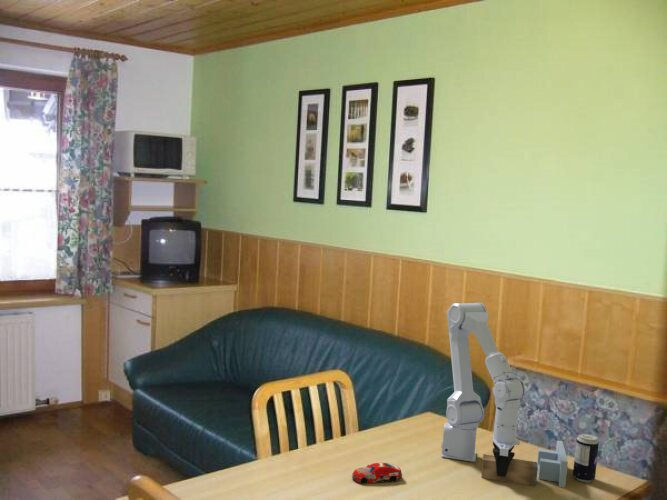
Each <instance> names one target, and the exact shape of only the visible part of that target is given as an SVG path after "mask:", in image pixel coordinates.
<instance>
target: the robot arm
mask: <svg viewBox="0 0 667 500" xmlns="http://www.w3.org/2000/svg"><path fill="white" fill-rule="evenodd" d="M446 313H447V314H446V317H447V324H448V325H447V326H448V336H449V338H448V339H449V345H450V346H449V347H450V357H451V370H452V379H453V390H454V392H453V393H452V394H451V395H449V397H448V398H447V399H446V403H447V405H446V406H447V407H446V413H445V416H446V419H447V421H448V422H444V425H443V434H442V442H441V446H440V448H441V454H440V455H441V457H442V458H447V459H454V460H460V461H467V462H473V463H475V462H476V458H477V457H476V456H477V451H476V442H477V430H478V429H477V428H478V427H479V426H480V423H482V421H483V420H484V418H485V409H484V407H483V403H482V398H481V396H480V395H478V393H476V392H475V391H474V383H473V375H472V374H473V372H472V364H471V352H470V341H469V336H470V334H471V333H473V334H474V336H475V338H476V340H477V341H478V344H479V346H480V347H481V349H482V351H483V352H484V354H485V360H484V364H485V366H486V368H487V371H488V373H489V375H490V377H491V380H492V381H493V384H494V386H493V387H492V394H493V396H494V404H495V414H494V415H495V417H494V427H493V428H494V429H493V436H492V445H493V448H492V455H493V456H494V457H495V460H496V470H497V476H502V477H505V476H506V474H507V470H508V467H509V464H510V462H511V460H512V459H514V457H515V452H512V451H513V449H514V448H515V445H516V446H519V445H521V443H520V442H521V441H520V440H519V439H517V426H518V418H519V415H518V414H519V407H520V406H519V405H520V400H521V399H523V398H524V397H525V393H526V388H525V384H524V381H523V380H522V379H521V378H520V377H518V376H517V375H516V374H514V373H513V370H512V368H511V365H510V364H509V362H508V359H507V357H506V356H505V354H504V353H502V352H500V351H499V350H498V348H497V344H496V341H495V339H494V337H493V333H492V332H491V328H490V326H489V323H488V322H489V319H490V315H489V313H488V311H487V308H486V306H485V304H484V303H482V302H481V301H479V302H475V303H474V302H469V303H467V302H466V303H465V302H464V303H463V302H462V303H458V302H454V303H452V304H451V305H450V307H449V308H448V310H447V312H446Z"/></svg>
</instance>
